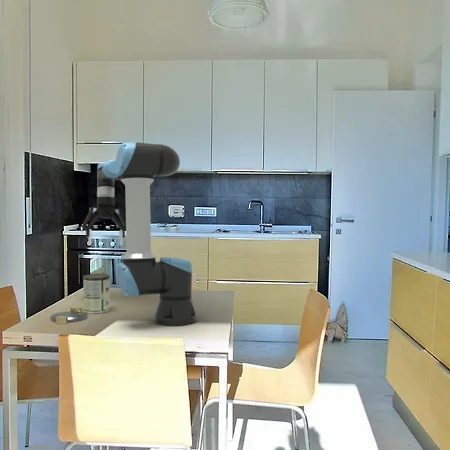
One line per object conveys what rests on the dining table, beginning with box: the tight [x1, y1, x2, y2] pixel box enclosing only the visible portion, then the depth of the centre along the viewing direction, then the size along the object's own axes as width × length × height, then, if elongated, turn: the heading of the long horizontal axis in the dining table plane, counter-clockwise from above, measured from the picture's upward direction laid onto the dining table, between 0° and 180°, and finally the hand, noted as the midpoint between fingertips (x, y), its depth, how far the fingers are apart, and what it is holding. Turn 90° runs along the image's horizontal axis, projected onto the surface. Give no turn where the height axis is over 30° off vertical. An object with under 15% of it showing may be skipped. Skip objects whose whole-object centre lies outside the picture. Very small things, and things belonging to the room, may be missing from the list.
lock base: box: [50, 306, 88, 325], centre depth 174 cm, size 16×13×2 cm
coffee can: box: [82, 273, 111, 314], centre depth 186 cm, size 10×10×14 cm
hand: (105, 244), depth 204 cm, fingers open, 13 cm apart
